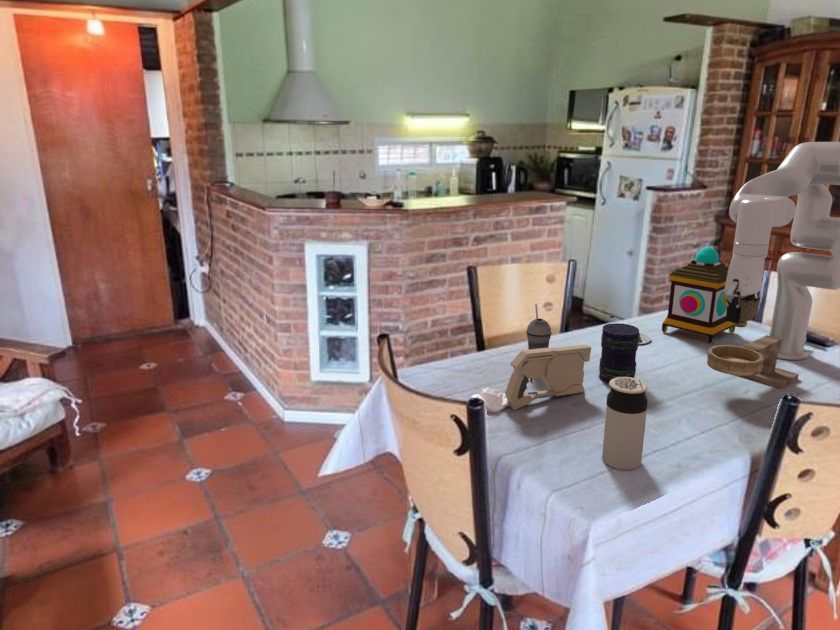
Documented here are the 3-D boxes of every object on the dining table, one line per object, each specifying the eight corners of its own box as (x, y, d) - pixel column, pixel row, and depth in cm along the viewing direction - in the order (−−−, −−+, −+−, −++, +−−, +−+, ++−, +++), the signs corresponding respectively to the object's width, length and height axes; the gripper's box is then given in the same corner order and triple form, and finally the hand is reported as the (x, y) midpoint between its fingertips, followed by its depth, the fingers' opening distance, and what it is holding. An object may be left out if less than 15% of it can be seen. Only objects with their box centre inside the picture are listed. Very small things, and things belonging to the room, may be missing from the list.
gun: (510, 411, 148) (516, 355, 145) (502, 406, 151) (508, 351, 147) (585, 399, 159) (592, 347, 155) (576, 394, 162) (584, 343, 158)
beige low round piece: (617, 332, 205) (618, 320, 204) (653, 338, 199) (655, 325, 198) (609, 343, 195) (610, 330, 194) (646, 349, 190) (648, 335, 188)
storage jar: (640, 377, 167) (646, 317, 162) (625, 388, 160) (631, 326, 155) (607, 369, 173) (612, 310, 168) (592, 379, 167) (596, 319, 161)
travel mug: (600, 467, 124) (606, 389, 118) (603, 448, 131) (609, 374, 125) (640, 474, 121) (649, 394, 115) (641, 454, 128) (649, 378, 122)
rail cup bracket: (746, 364, 174) (752, 327, 171) (797, 379, 164) (805, 340, 160) (691, 391, 157) (696, 351, 154) (744, 410, 147) (751, 367, 143)
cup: (761, 330, 146) (766, 299, 144) (731, 330, 146) (735, 300, 144) (746, 321, 153) (750, 291, 151) (717, 321, 153) (721, 292, 151)
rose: (467, 394, 149) (474, 379, 158) (467, 410, 150) (474, 394, 159) (507, 398, 146) (511, 382, 155) (507, 414, 147) (511, 397, 156)
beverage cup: (544, 375, 170) (547, 309, 164) (521, 370, 174) (523, 306, 168) (553, 367, 176) (556, 303, 170) (530, 362, 179) (532, 299, 173)
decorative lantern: (684, 320, 215) (693, 239, 206) (740, 333, 201) (753, 246, 192) (655, 332, 203) (664, 246, 194) (712, 347, 189) (725, 255, 180)
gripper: (751, 243, 152) (741, 309, 157) (716, 252, 142) (707, 322, 147) (782, 247, 146) (771, 315, 151) (748, 257, 136) (737, 329, 141)
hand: (739, 318), depth 149 cm, fingers closed on cup, 6 cm apart
